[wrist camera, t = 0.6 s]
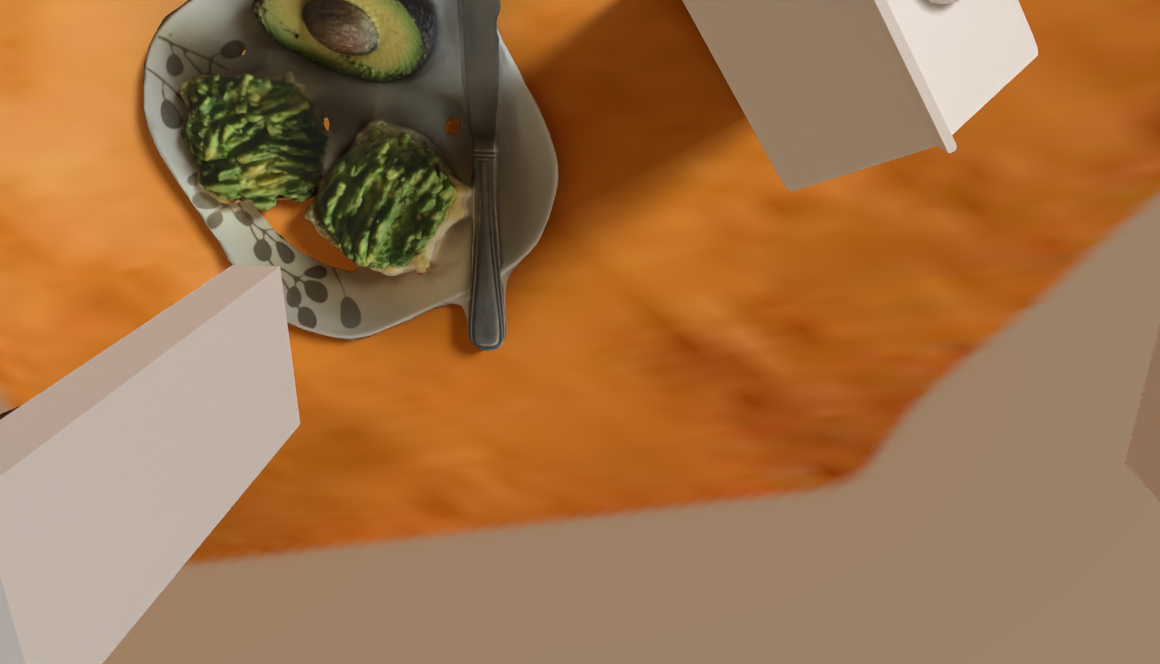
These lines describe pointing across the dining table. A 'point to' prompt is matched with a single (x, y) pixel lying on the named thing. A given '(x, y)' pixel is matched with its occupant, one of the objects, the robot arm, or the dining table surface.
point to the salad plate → (358, 151)
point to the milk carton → (860, 74)
